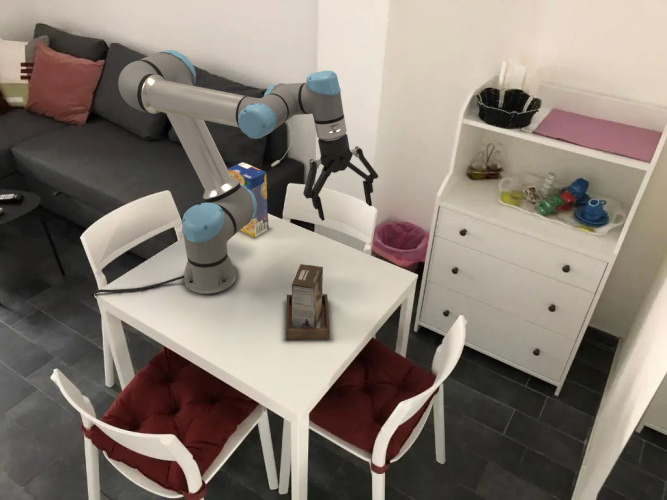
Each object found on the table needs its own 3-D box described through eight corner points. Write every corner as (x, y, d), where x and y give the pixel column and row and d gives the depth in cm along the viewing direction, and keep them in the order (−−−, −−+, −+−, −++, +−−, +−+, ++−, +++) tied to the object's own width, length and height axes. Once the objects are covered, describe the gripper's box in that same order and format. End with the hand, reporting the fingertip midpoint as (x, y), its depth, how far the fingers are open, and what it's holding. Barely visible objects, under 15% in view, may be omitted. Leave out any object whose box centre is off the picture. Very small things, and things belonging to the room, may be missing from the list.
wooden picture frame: (286, 340, 144) (285, 330, 142) (286, 303, 156) (286, 294, 154) (329, 339, 145) (329, 329, 143) (327, 303, 157) (327, 293, 155)
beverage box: (246, 218, 192) (242, 161, 179) (268, 229, 187) (266, 172, 174) (231, 226, 188) (226, 168, 175) (254, 237, 182) (251, 179, 169)
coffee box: (300, 307, 154) (300, 262, 145) (322, 311, 153) (323, 266, 144) (291, 329, 147) (291, 283, 138) (314, 333, 146) (315, 287, 137)
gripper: (288, 153, 130) (305, 230, 140) (384, 126, 134) (393, 203, 145) (281, 144, 136) (298, 219, 147) (372, 120, 141) (382, 193, 151)
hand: (345, 211), depth 146 cm, fingers open, 13 cm apart
